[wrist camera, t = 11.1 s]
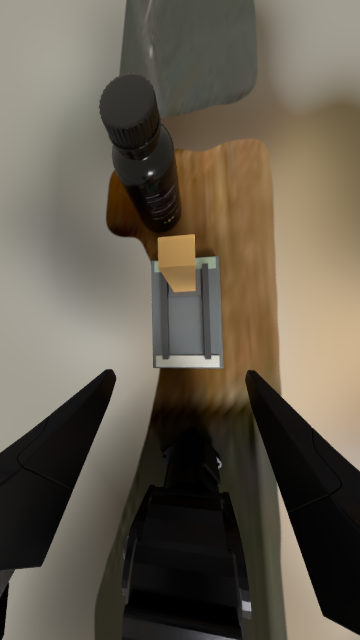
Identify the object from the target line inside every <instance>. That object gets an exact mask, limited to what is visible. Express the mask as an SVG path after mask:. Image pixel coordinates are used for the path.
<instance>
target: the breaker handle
mask: <svg viewBox="0 0 360 640" xmlns="http://www.w3.org/2000/svg"><path fill="white" fill-rule="evenodd" d="M158 268H159V269H160V271H161V273H162V274H163V276H164V277H165V279H166V280H167V282H168V284H169V297H170V298H174V297H195V296H201V285H200V269H196V265H195V234H191V235H180V236H170V237H159V238H158Z"/></svg>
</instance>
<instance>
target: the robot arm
mask: <svg viewBox="0 0 360 640" xmlns="http://www.w3.org/2000/svg"><path fill="white" fill-rule="evenodd" d="M115 382H116V375H115V373H114V372H113V370H112V369H107V370H105V371H103V372H102V373H101V374H100V375H99V376H97V377H96V378H95V379H94V380H92V381H91V382H90V383H89V384H87V385H86V386H85V387H84V388H83V389H81V390H80V391H79V392H78V393H76V394H75V395H74V396H73V397H72V398H70V399H69V400H68V401H66V402H65V403H64V404H63V405H62V406H60V407H59V408H58V409H57V410H55V411H54V412H53V413H52V414H51V415H50V416H48V417H47V418H45V419H44V420H43V421H42V422H41V423H39V424H38V425H37V426H35V427H34V428H33V429H32V430H31V431H29V432H28V433H26V434H25V435H24V436H22V437H21V438H20V439H18V440H17V441H16V442H14V443H13V444H12V445H10V446H9V447H8V448H6V449H5V450H4V451H2V452H1V453H0V640H2V638H3V635H4V629H5V619H6V609H7V598H8V589H9V583H8V582H9V580H10V578H11V576H12V574H13V573H14V571H15V569H23V568H34V567H41V566H42V564H43V562H44V559H45V557H46V555H47V552H48V550H49V547H50V545H51V543H52V540H53V538H54V535H55V533H56V530H57V528H58V526H59V523H60V521H61V518H62V516H63V514H64V511H65V509H66V506H67V504H68V501H69V499H70V497H71V494H72V491H73V489H74V487H75V484H76V482H77V479H78V477H79V474H80V472H81V469H82V467H83V465H84V462H85V460H86V457H87V455H88V453H89V450H90V448H91V445H92V443H93V440H94V438H95V435H96V433H97V431H98V428H99V426H100V424H101V421H102V419H103V416H104V414H105V411H106V409H107V407H108V404H109V401H110V398H111V395H112V391H113V389H114V385H115ZM245 382H246V386H247V391H248V395H249V399H250V404H251V407H252V411H253V414H254V417H255V419H256V422H257V425H258V428H259V431H260V434H261V437H262V440H263V443H264V446H265V449H266V451H267V454H268V457H269V460H270V463H271V466H272V469H273V472H274V475H275V478H276V481H277V483H278V486H279V489H280V492H281V495H282V498H283V501H284V504H285V507H286V510H287V512H288V516H289V519H290V521H291V524H292V527H293V530H294V533H295V536H296V539H297V542H298V545H299V547H300V550H301V553H302V556H303V559H304V562H305V565H306V568H307V571H308V574H309V577H310V580H311V583H312V585H313V588H314V591H315V594H316V597H317V600H318V603H319V606H320V608H321V611H322V614H323V616H324V617H326V618H328V619H330V620H332V621H334V622H335V623H337V624H339V625H341V626H343V627H345V628H347V629H349V630H350V631H352V632H354V633H356V634H358V635H360V471H359V470H358V469H356V468H355V467H354V466H353V465H352V464H351V463H350V462H348V461H347V460H346V459H345V458H344V457H343V456H342V455H341V454H340V453H339V452H338V451H336V450H335V449H334V448H333V447H332V446H331V445H330V444H329V443H328V442H327V441H326V440H325V439H324V438H323V437H322V436H321V435H320V434H319V433H318V432H317V431H316V430H314V429H313V428H312V427H311V426H310V425H309V424H308V423H307V422H306V421H305V420H304V419H303V418H302V417H301V416H300V415H299V414H298V413H297V412H296V411H295V410H294V409H293V408H292V407H291V406H290V405H289V404H288V403H287V402H286V401H285V400H284V399H283V398H282V397H281V396H280V395H279V394H278V393H277V392H276V391H275V390H274V389H273V388H272V387H271V386H270V385H269V384H268V383H267V382H266V381H265V380H264V379H263V378H262V377H261V376H260V375H259V374H258V373H257V372H256V371H254V370H248V371H247V374H246V378H245ZM190 431H193V432H190ZM164 455H166V456H164ZM161 458H162V459H163V460H164V462H165V463H166V464H167V471H166V476H165V481H164V486H163V487H155V485H150V486H149V488H148V490H147V493H146V494H145V496H144V498H143V500H142V503H141V505H140V507H139V509H138V512H137V514H136V516H135V518H134V520H133V523H132V525H131V528H130V532H129V536H128V537H127V539H126V540H125V543H124V547H123V555H124V559H125V562H124V568H123V577H122V594H123V595H124V596H126V605H125V609H124V614H123V631H122V640H244V630H243V618H246V619H251V602H250V593H249V585H248V577H247V571H246V564H245V558H244V552H243V547H242V542H241V537H240V532H239V528H238V525H237V521H236V518H235V514H234V510H233V507H232V503H231V500H230V496H229V492H223V493H219V488H218V486H219V485H220V475H219V468H220V467H221V466H222V464H221V460H220V459H219V457H218V456H217V455H216V452H215V451H214V449H213V448H212V447H211V446H210V445H209V443H208V442H207V441H206V440H205V439H204V438H202V437H201V436H200V435H199V433H198V432H197V431H196V430H195V429H194V428H193V427H190V428H189V429H188V430H186V431H185V432H184V433H183V434H182V435H181V436H180V437H178V438H177V439H176V440H175V441H174V442H173V443H171V444H170V445H169V446H168V447H167V448H166V449H165V450H163V451H162V454H161ZM217 462H219V463H217Z"/></svg>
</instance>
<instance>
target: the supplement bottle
mask: <svg viewBox="0 0 360 640" xmlns="http://www.w3.org/2000/svg"><path fill="white" fill-rule="evenodd" d="M99 108H100V115H101V118H102V121H103V123H104V125H105V128H106V130H107V132H108V135H109V138H110V140H111V142H112V144H113V147H112V159H113V165H114V168H115V171H116V173H117V175H118V177H119V179H120V181H121V183H122V185H123V187H124V188H125V190H126V192H127V194H128V196H129V198H130V200H131V202H132V204H133V206H134V207H135V209H136V211H137V213H138V215H139V217H140V219H141V221H142V222H143V224H144V225H145V226H146V227H147V228H148V229H149V230H151V231H154V232H165V231H168V230H170V229H171V228H173V227H174V226H175V225H176V224H177V222H178V221H179V218H180V216H181V199H180V191H179V183H178V175H177V166H176V158H175V150H174V145H173V141H172V138H171V136H170V134H169V132H168V130H167V129H166V128H165V127H164V125H163V124H161V119H160V114H159V110H158V108H157V102H156V97H155V92H154V89H153V86H152V84H150V81H149V80H147V79H146V77H143V76H142V75H139V74H137V73H134V74H133V73H129V74H124V75H120V76H119V77H116V78H115V79H114V80H113V81H111V82H110V83H109V84H108V85H107V86H106V88H105V89H104V91H103V94H102V95H101V99H100V105H99Z"/></svg>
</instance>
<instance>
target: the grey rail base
mask: <svg viewBox="0 0 360 640" xmlns="http://www.w3.org/2000/svg"><path fill="white" fill-rule="evenodd" d="M151 264H152V322H153V323H152V324H153V368H223V350H222V324H221V298H220V272H219V256H210V257H197V258H195V265H196V269H200V285H201V296H195V297H174V298H170V297H169V284H168V282H167V280H166V279H165V277H164V276H163V274H162V273H161V271H160V269H159V268H158V261H151Z"/></svg>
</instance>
